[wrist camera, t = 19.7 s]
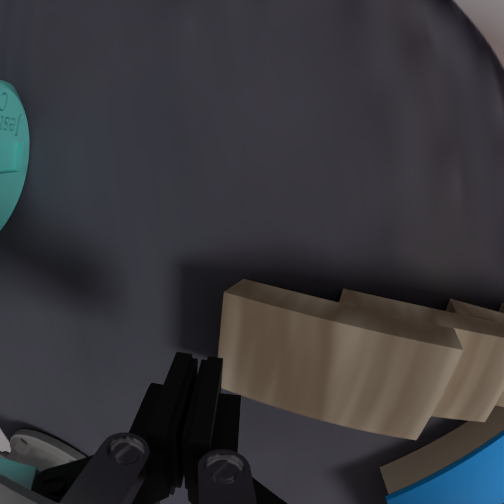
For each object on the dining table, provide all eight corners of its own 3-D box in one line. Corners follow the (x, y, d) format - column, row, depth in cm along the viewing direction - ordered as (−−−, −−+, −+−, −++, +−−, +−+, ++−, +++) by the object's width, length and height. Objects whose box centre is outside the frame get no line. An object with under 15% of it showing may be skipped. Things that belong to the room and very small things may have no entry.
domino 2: (314, 391, 15) (484, 422, 11) (338, 302, 13) (526, 342, 10) (322, 371, 16) (478, 400, 13) (343, 288, 15) (513, 325, 12)
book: (407, 554, 22) (383, 505, 16) (401, 532, 26) (370, 465, 20) (517, 493, 19) (561, 390, 13) (506, 474, 24) (535, 364, 17)
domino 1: (215, 385, 14) (416, 440, 11) (224, 292, 13) (463, 350, 10) (233, 365, 16) (415, 414, 13) (243, 278, 15) (453, 328, 11)
